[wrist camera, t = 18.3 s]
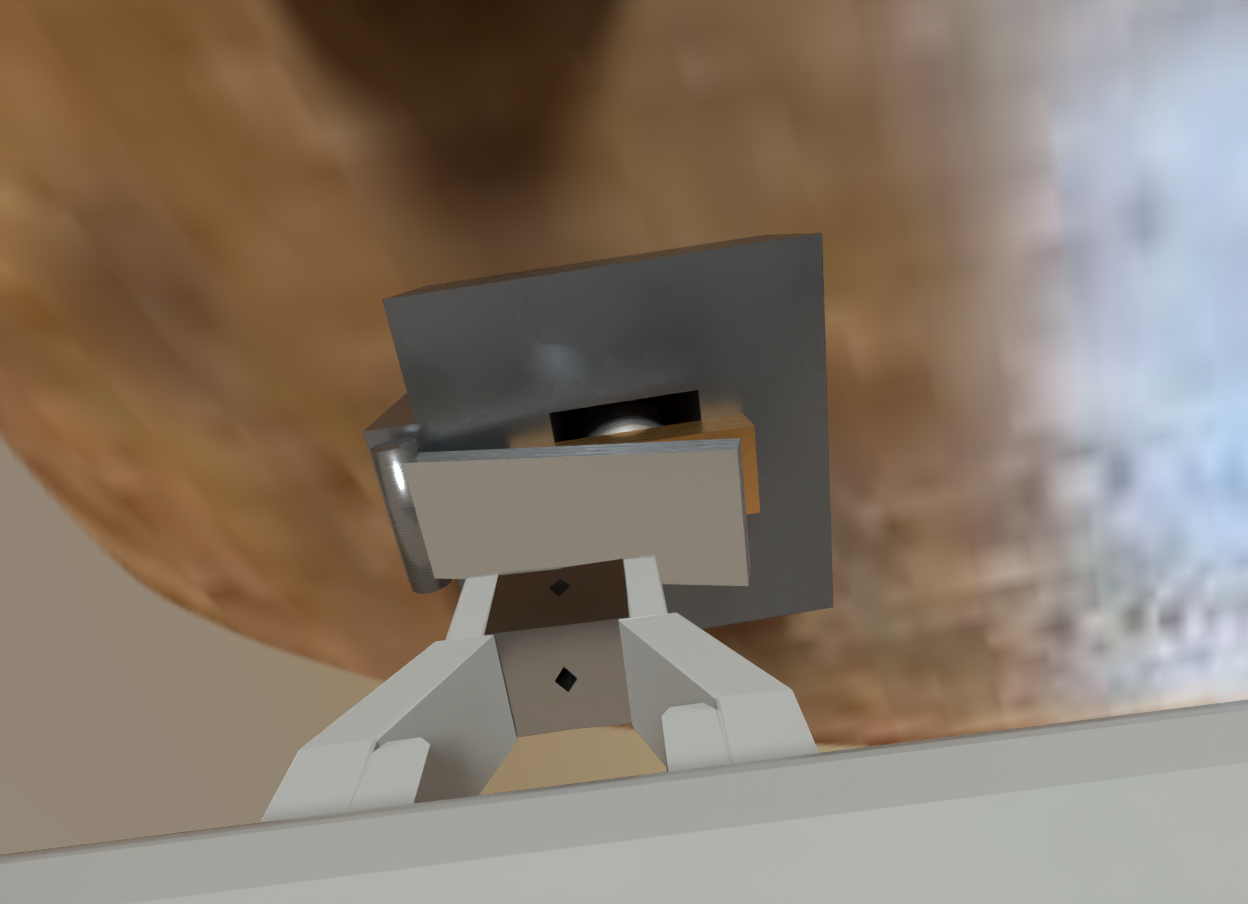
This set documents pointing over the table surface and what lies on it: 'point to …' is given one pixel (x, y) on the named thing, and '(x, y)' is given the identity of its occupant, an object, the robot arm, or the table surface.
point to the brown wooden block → (668, 434)
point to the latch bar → (568, 509)
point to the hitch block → (644, 382)
